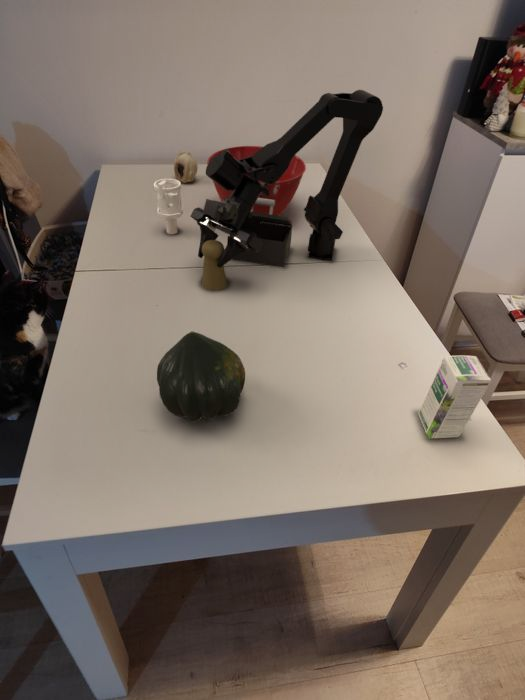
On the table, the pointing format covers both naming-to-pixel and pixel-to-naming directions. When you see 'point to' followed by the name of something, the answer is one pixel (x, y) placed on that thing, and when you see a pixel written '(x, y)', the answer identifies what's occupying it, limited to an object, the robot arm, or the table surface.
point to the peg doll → (213, 266)
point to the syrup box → (453, 396)
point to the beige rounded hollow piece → (185, 167)
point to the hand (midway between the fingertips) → (208, 262)
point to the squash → (200, 378)
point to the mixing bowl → (278, 190)
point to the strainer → (169, 203)
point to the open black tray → (268, 243)
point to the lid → (269, 217)
